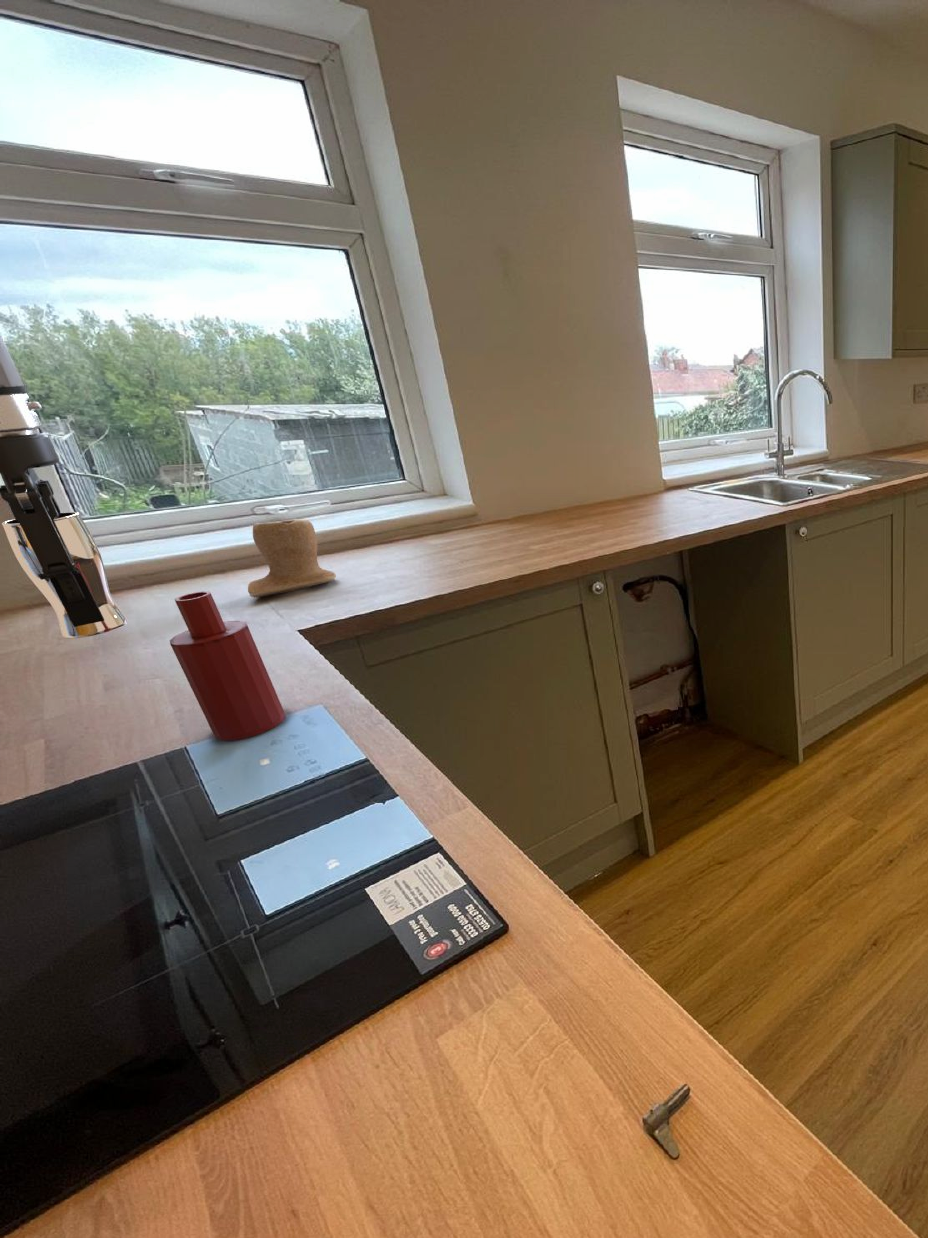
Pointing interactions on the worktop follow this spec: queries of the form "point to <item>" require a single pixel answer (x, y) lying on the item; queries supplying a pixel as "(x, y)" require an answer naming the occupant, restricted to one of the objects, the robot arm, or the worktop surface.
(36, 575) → the beer glass
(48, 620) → the worktop surface
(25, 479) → the robot arm
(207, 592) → the sauce bottle
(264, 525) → the brown top hat
